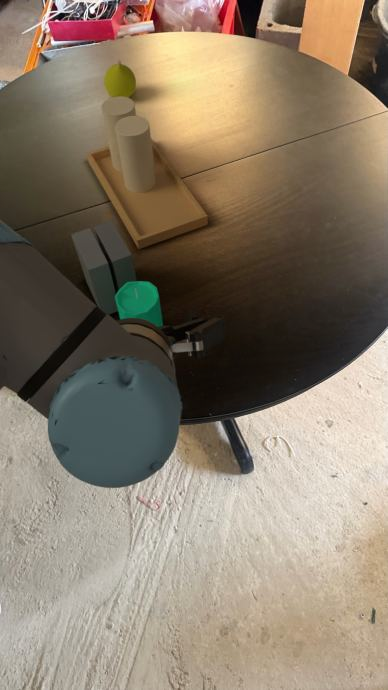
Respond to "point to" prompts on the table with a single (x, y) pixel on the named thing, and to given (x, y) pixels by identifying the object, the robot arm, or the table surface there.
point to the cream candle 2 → (136, 153)
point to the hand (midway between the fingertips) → (140, 326)
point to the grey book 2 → (116, 254)
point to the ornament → (120, 81)
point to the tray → (150, 200)
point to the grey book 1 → (95, 270)
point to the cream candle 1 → (112, 114)
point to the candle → (139, 302)
